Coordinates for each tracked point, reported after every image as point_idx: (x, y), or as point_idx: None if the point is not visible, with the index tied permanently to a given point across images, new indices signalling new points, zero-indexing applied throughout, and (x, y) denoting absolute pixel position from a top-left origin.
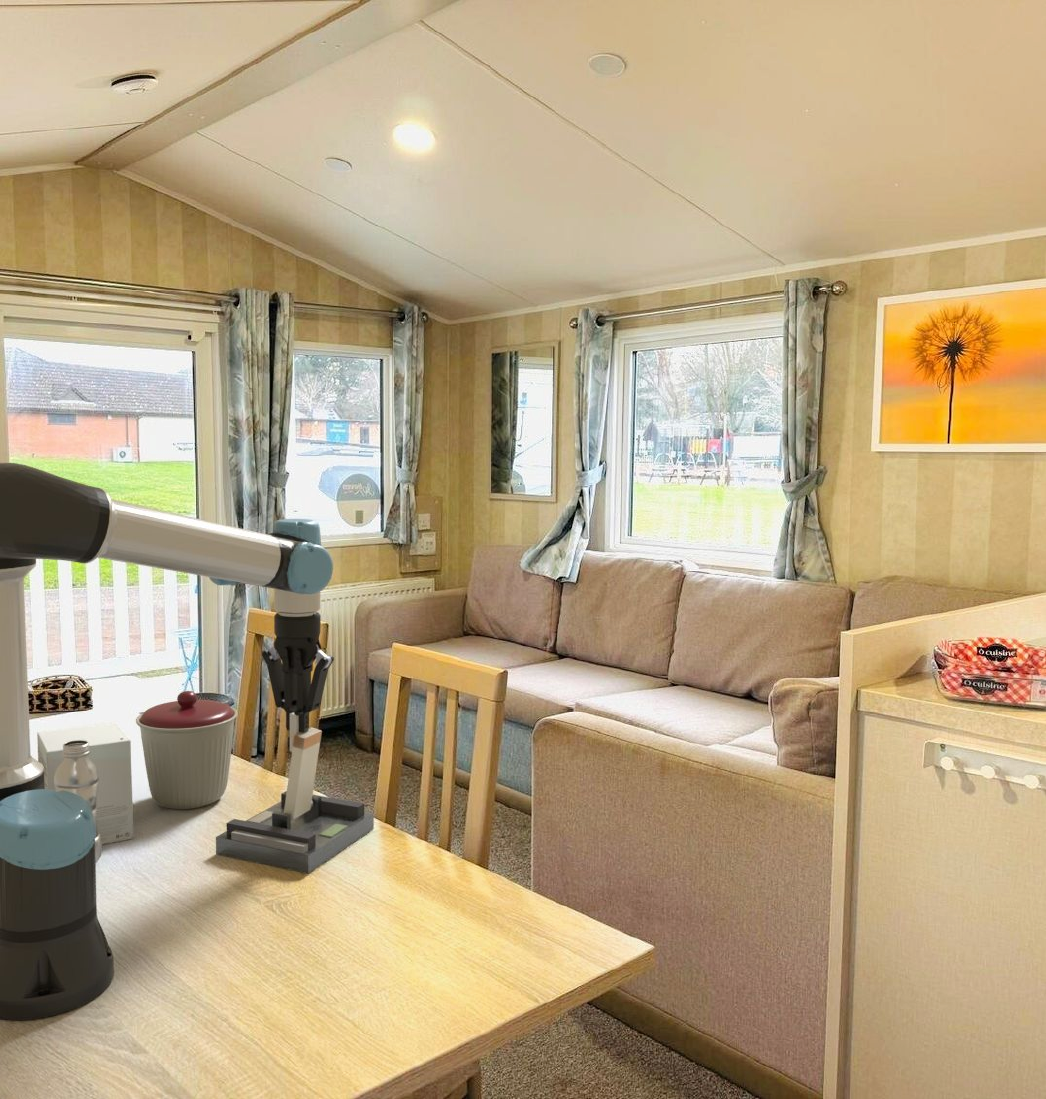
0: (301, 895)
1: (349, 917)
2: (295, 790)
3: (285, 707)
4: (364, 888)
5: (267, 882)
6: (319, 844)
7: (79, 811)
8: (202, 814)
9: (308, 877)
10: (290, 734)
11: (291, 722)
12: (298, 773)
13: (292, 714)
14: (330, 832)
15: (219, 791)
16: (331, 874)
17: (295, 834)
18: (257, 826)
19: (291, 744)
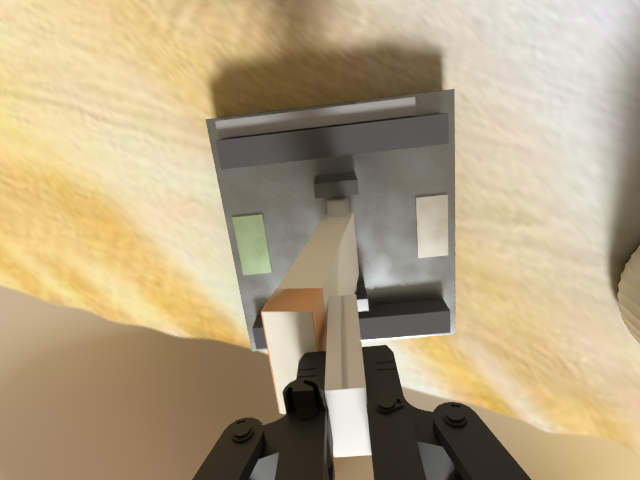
0: (156, 32)
1: (14, 5)
2: (317, 235)
3: (401, 410)
4: (86, 123)
5: (255, 42)
6: (228, 177)
7: None
8: (606, 233)
9: (205, 105)
10: (355, 327)
11: (353, 360)
12: (303, 253)
13: (347, 387)
14: (248, 232)
15: (623, 299)
16: (179, 139)
17: (256, 144)
18: (366, 136)
19: (349, 307)
